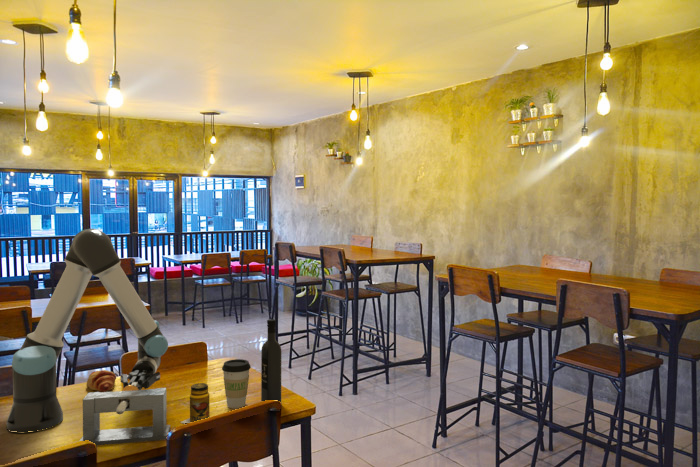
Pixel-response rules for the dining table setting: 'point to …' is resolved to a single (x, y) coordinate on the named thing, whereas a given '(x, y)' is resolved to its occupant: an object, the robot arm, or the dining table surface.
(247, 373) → the coffee cup
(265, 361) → the wine bottle
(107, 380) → the croissant
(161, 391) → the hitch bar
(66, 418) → the dining table surface
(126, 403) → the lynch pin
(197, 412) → the condiment
